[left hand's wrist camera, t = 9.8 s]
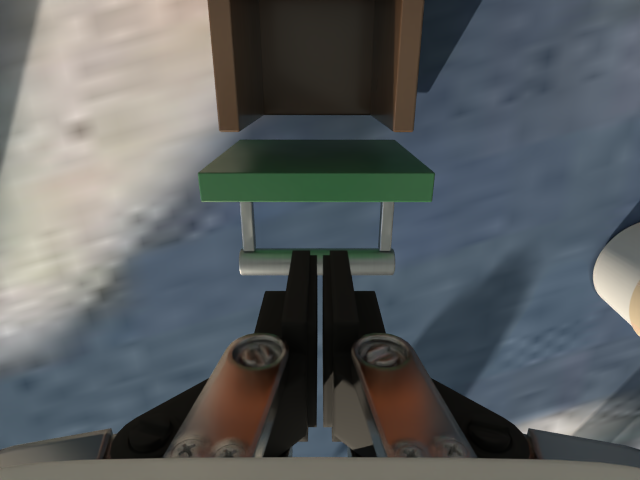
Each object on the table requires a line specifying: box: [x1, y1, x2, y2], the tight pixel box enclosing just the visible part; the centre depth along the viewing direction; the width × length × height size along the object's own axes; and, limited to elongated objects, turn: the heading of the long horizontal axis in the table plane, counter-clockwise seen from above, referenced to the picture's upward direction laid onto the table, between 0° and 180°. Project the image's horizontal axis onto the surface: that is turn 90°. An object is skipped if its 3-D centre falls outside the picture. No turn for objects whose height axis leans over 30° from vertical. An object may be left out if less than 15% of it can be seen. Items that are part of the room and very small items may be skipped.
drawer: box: [198, 0, 435, 275], centre depth 18 cm, size 22×9×9 cm, turn 0°
